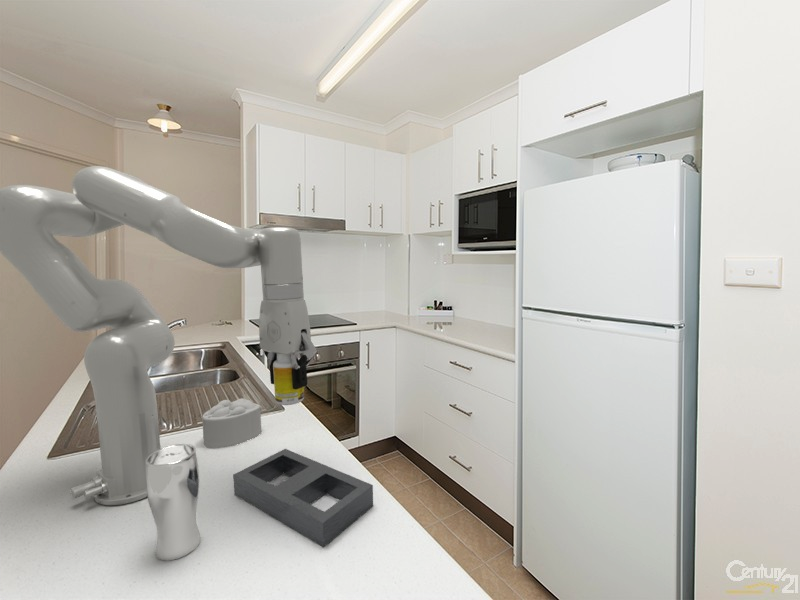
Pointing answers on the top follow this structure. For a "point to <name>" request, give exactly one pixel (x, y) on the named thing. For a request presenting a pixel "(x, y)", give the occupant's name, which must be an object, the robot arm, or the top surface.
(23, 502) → the top surface
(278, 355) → the supplement bottle
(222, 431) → the lumpy-topped squat cylinder
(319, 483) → the cinder block
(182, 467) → the beer glass
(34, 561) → the top surface
